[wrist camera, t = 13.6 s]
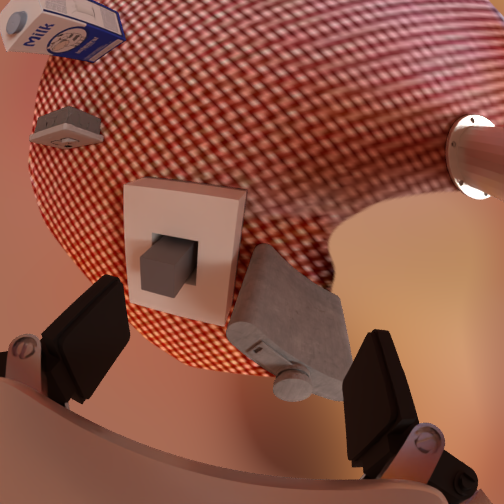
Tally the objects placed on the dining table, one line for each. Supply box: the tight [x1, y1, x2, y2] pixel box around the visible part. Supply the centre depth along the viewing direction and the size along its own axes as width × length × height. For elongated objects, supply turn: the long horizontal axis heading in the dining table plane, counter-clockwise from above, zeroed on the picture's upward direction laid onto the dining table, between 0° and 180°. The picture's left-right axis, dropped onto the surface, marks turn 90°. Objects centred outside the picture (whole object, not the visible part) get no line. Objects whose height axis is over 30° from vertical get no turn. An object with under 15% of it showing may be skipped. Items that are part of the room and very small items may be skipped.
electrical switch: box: [29, 106, 104, 149], centre depth 31 cm, size 9×5×9 cm, turn 89°
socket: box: [124, 177, 248, 327], centre depth 38 cm, size 15×18×6 cm
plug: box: [140, 235, 199, 298], centre depth 35 cm, size 4×4×10 cm
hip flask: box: [226, 244, 353, 402], centre depth 31 cm, size 16×4×20 cm, turn 54°
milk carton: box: [0, 0, 126, 63], centre depth 19 cm, size 7×7×20 cm
